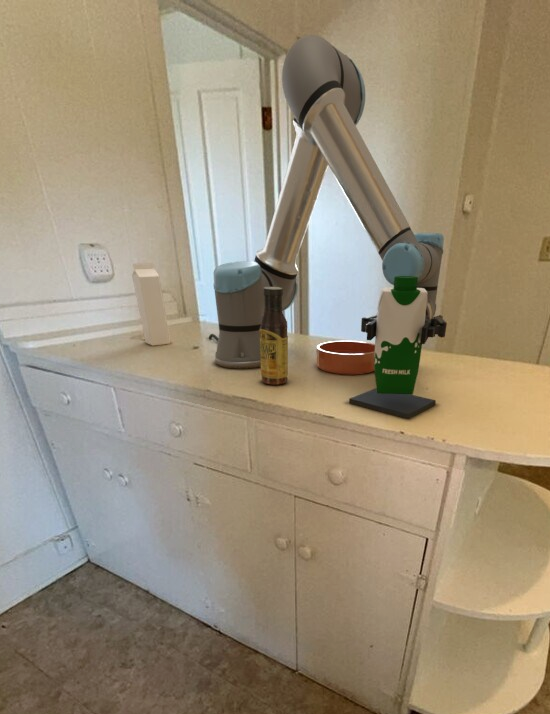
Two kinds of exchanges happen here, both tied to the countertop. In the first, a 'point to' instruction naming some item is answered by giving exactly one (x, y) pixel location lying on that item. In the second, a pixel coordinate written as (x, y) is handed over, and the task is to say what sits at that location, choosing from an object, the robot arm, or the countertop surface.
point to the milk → (150, 304)
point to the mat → (393, 403)
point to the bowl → (346, 357)
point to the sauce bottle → (273, 339)
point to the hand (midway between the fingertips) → (395, 334)
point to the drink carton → (399, 335)
